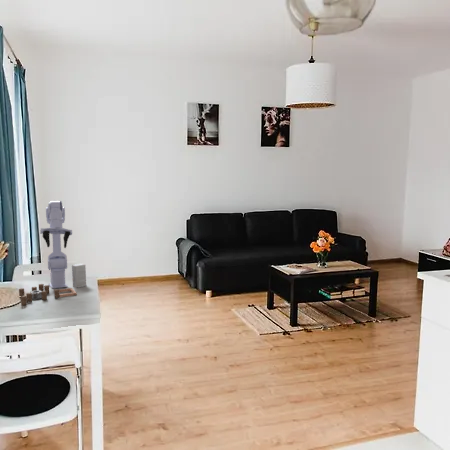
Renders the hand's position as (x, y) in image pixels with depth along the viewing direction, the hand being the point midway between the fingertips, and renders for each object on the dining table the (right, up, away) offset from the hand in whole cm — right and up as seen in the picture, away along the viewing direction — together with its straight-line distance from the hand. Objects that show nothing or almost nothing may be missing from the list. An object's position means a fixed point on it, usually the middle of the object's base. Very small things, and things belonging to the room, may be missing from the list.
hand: (57, 246), depth 227 cm
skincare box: (+1, -23, +32) cm, 39 cm away
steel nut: (-14, -26, +10) cm, 31 cm away
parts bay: (-2, -25, +17) cm, 30 cm away
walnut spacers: (-14, -26, +10) cm, 31 cm away
